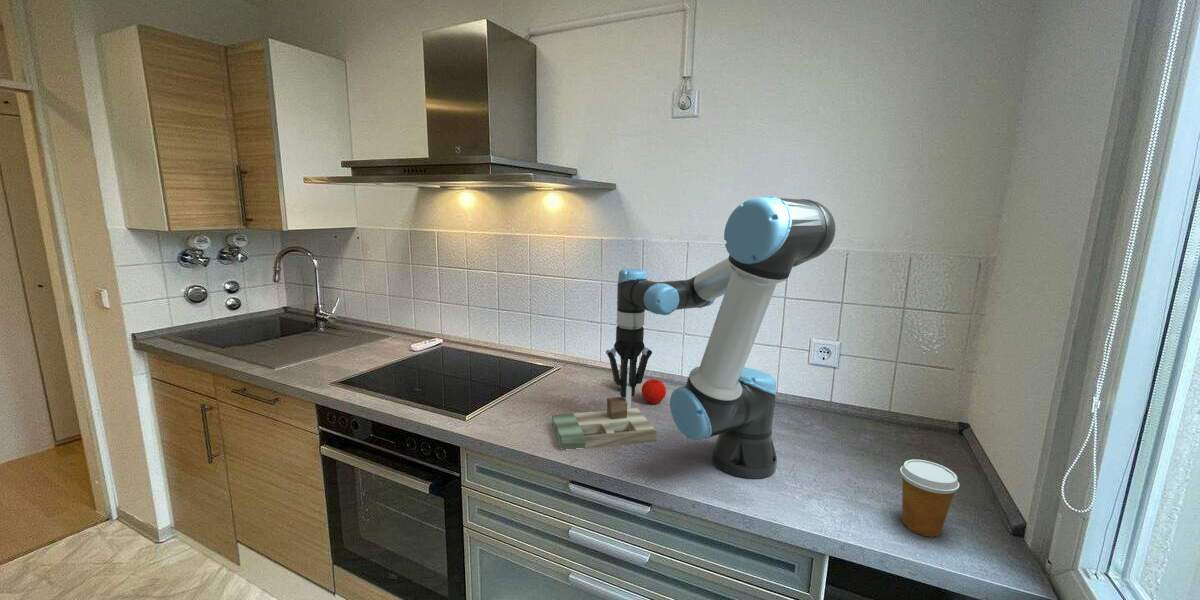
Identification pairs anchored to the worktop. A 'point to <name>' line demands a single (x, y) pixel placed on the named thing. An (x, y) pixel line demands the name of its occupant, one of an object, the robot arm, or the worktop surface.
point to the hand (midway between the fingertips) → (626, 407)
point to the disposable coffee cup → (926, 496)
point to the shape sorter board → (601, 429)
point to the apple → (653, 391)
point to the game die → (627, 376)
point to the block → (617, 407)
